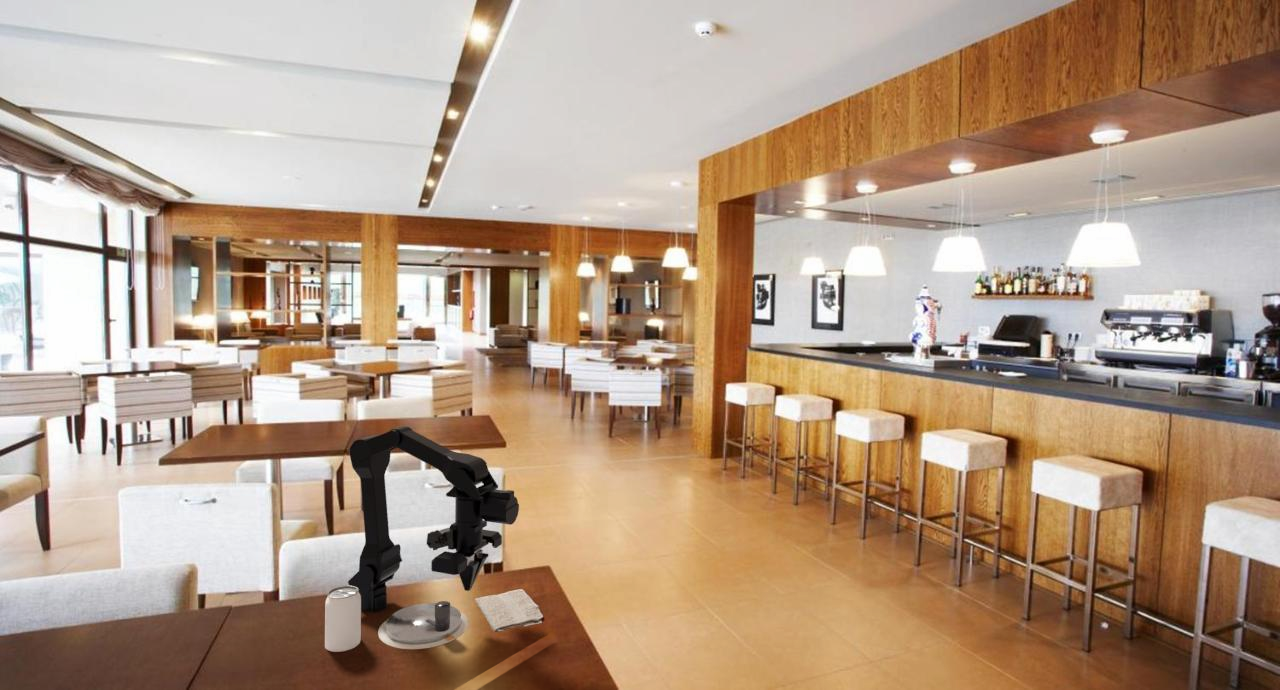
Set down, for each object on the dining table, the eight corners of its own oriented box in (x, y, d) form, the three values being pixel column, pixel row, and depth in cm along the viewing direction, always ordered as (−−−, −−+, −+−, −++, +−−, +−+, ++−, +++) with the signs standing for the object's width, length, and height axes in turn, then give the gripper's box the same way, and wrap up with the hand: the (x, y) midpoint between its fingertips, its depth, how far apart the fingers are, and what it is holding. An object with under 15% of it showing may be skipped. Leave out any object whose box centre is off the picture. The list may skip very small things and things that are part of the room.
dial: (371, 628, 135) (371, 597, 135) (432, 603, 148) (432, 575, 147) (414, 652, 127) (415, 620, 126) (475, 623, 139) (476, 594, 138)
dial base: (359, 637, 135) (360, 628, 135) (431, 605, 150) (431, 598, 150) (414, 666, 125) (415, 657, 125) (485, 629, 140) (485, 621, 140)
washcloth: (494, 643, 135) (495, 628, 135) (471, 607, 151) (471, 594, 151) (548, 630, 141) (548, 616, 141) (520, 597, 157) (520, 584, 157)
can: (346, 661, 126) (347, 600, 125) (317, 656, 127) (317, 596, 126) (367, 644, 132) (368, 586, 131) (339, 640, 133) (339, 583, 133)
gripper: (460, 501, 149) (458, 568, 150) (408, 527, 131) (408, 602, 132) (503, 507, 146) (502, 575, 147) (457, 534, 128) (456, 611, 129)
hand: (467, 590), depth 138 cm, fingers closed
